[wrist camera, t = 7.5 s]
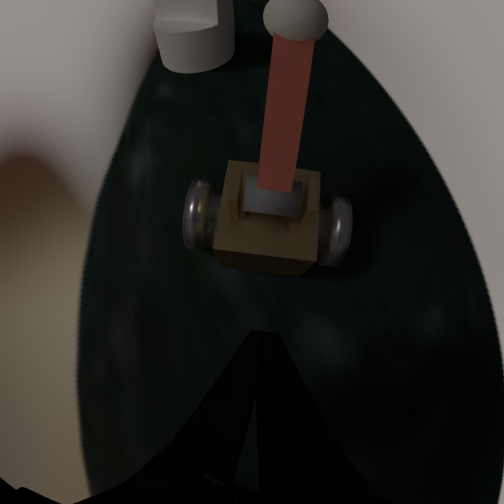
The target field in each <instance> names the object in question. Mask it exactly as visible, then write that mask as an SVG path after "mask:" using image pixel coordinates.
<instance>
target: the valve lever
mask: <svg viewBox="0 0 504 504" xmlns="http://www.w3.org/2000/svg"><path fill="white" fill-rule="evenodd" d="M263 19H264V24H265V26H266V28H267V30H268V32H269V33H270V34H271V35H272V36H273V37H274V38H273V47H272V55H271V64H270V73H269V82H268V91H267V100H266V109H265V118H264V127H263V136H262V145H261V154H260V163H259V172H258V176H252V175H247V179H246V185H245V192H244V202H243V211H250V212H258V213H266V214H274V215H282V216H289V217H298V216H299V213H300V208H301V202H302V193H303V184H302V182H298V181H293V179H294V173H295V167H296V161H297V155H298V149H299V143H300V137H301V131H302V124H303V118H304V111H305V105H306V98H307V91H308V84H309V77H310V70H311V63H312V56H313V48H314V42H315V41H317V40H318V39H320V38H321V37H322V36H323V34H324V33H325V31H326V30H327V27H328V14H327V11H326V9H325V7H324V6H323V4H322V3H321V2H320V1H319V0H270V1H269V2H268V3H267V5H266V7H265V9H264V14H263Z"/></svg>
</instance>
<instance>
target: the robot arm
mask: <svg viewBox="0 0 504 504" xmlns="http://www.w3.org/2000/svg"><path fill="white" fill-rule="evenodd" d="M255 397H256V411H257V442H258V473H259V501H258V500H256V499H255V498H253V497H252V496H247V495H246V494H244V493H243V492H242V491H240V490H239V489H238V488H236V487H235V486H234V485H232V483H233V479H234V476H235V472H236V469H237V465H238V462H239V458H240V454H241V451H242V447H243V443H244V440H245V436H246V432H247V429H248V425H249V421H250V417H251V413H252V409H253V405H254V401H255ZM230 489H231V490H230ZM0 504H60V503H58V502H56V501H53V500H51V499H49V498H46V497H44V496H42V495H40V494H38V493H36V492H34V491H32V490H30V489H27V488H25V487H20V488H19V489H17V490H16V489H14V488H13V487H12V486H10V485H9V484H8V483H7V482H5V481H4V480H3V479H2V478H0ZM74 504H391V503H389V502H387V501H385V500H384V499H382V498H381V497H380V496H379V495H377V494H376V493H375V492H374V491H373V490H372V488H371V487H370V486H369V485H368V483H367V482H366V481H365V480H364V478H363V477H362V476H361V474H360V473H359V472H358V470H357V469H356V468H355V466H354V465H353V464H352V462H351V461H350V460H349V459H348V457H347V456H346V454H345V453H344V451H343V450H342V449H341V447H340V446H339V444H338V443H337V441H336V439H335V438H334V436H333V434H332V433H331V431H330V429H329V427H328V425H327V423H326V422H325V420H323V416H322V414H321V413H320V411H319V409H318V407H317V405H316V403H315V401H314V400H313V398H312V396H311V394H310V392H309V390H308V388H307V386H306V385H305V383H304V381H303V379H302V377H301V375H300V373H299V371H298V369H297V368H296V366H295V364H294V362H293V360H292V358H291V356H290V354H289V352H288V350H287V349H286V347H285V345H284V343H283V341H282V339H281V337H280V335H279V334H278V333H277V332H270V331H266V332H265V333H264V331H261V330H250V332H249V333H248V335H247V336H246V338H245V339H244V341H243V342H242V344H241V345H240V347H239V348H238V350H237V351H236V353H235V354H234V356H233V357H232V359H231V360H230V361H229V363H228V364H227V366H226V367H225V369H224V370H223V372H222V373H221V375H220V376H219V378H218V379H217V380H216V382H215V383H214V385H213V386H212V388H211V389H210V390H209V392H208V393H207V395H206V396H205V398H204V399H203V400H202V402H201V403H200V405H199V406H198V409H196V410H195V411H194V413H193V414H192V416H191V417H190V418H189V420H188V421H187V422H186V423H185V425H184V426H183V427H182V428H181V430H180V431H179V432H178V433H177V434H176V435H175V436H174V437H173V438H172V440H171V441H170V442H169V443H168V444H167V445H166V446H165V447H164V448H163V449H162V450H161V451H160V452H159V453H157V454H156V455H155V456H154V457H153V458H152V459H151V460H150V461H149V462H148V463H147V464H146V465H145V466H144V467H143V468H142V469H140V470H139V471H138V472H137V473H136V474H134V475H133V476H132V477H131V478H129V479H128V480H126V481H125V482H123V483H121V484H119V485H117V486H115V487H113V488H110V489H108V490H106V491H104V492H101V493H99V494H97V495H94V496H92V497H89V498H87V499H84V500H82V501H79V502H77V503H74Z"/></svg>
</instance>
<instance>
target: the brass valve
mask: <svg viewBox="0 0 504 504" xmlns="http://www.w3.org/2000/svg"><path fill="white" fill-rule="evenodd" d="M258 172H259V163H251V162H242V161H232V160H229V162H228V167H227V172H226V177H225V182H224V188H223V190H217V189H216V182H215V180H214V179H208V178H197V177H196V178H194V179H193V180H192V182H191V184H190V187H189V189H188V192H187V196H186V201H185V206H184V214H183V239H184V244H185V246H186V248H187V249H194V250H202V251H206V250H207V249H208V247H209V246H213V250H214V253H215V255H216V258H217V260H218V262H219V265H220V267H227V268H235V269H243V270H251V271H259V272H267V273H275V274H283V275H292V276H300V277H301V276H302V275H303V274H304V273H305V272H306V271H307V270H308V269H309V268H310V267H311V266H312V265H313V264H315V263H316V262H318V264H319V265H322V266H330V267H339V266H340V265H341V264H342V263H343V261H344V259H345V257H346V255H347V252H348V249H349V245H350V240H351V234H352V224H353V215H352V206H351V203H350V200H349V199H348V197H344V196H339V195H333V194H328V195H327V196H326V197H325V199H324V202H323V203H320V172H316V171H310V170H304V169H297V168H295V173H294V179H293V181H298V182H302V184H303V193H302V202H301V208H300V213H299V216H298V217H289V216H282V215H274V214H266V213H258V212H250V211H243V202H244V192H245V185H246V179H247V175H252V176H258Z"/></svg>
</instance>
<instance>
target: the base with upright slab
mask: <svg viewBox="0 0 504 504" xmlns="http://www.w3.org/2000/svg"><path fill="white" fill-rule="evenodd" d="M152 4H153V8H154V13H155V16H156V19H155V20H154V22H153V27H154V31H155V35H156V39H157V43H158V47H159V50H160V54H161V58H162V62H163V64H164V66H165V67H166V68H168V69H169V70H171V71H174V72H179V73H198V72H204V71H208V70H211V69H214V68H217V67H219V66H221V65H223V64H225V63H226V62H227V61H229V60H230V59H231V58H232V56H233V55H234V51H235V40H234V11H233V2H232V0H152Z"/></svg>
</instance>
